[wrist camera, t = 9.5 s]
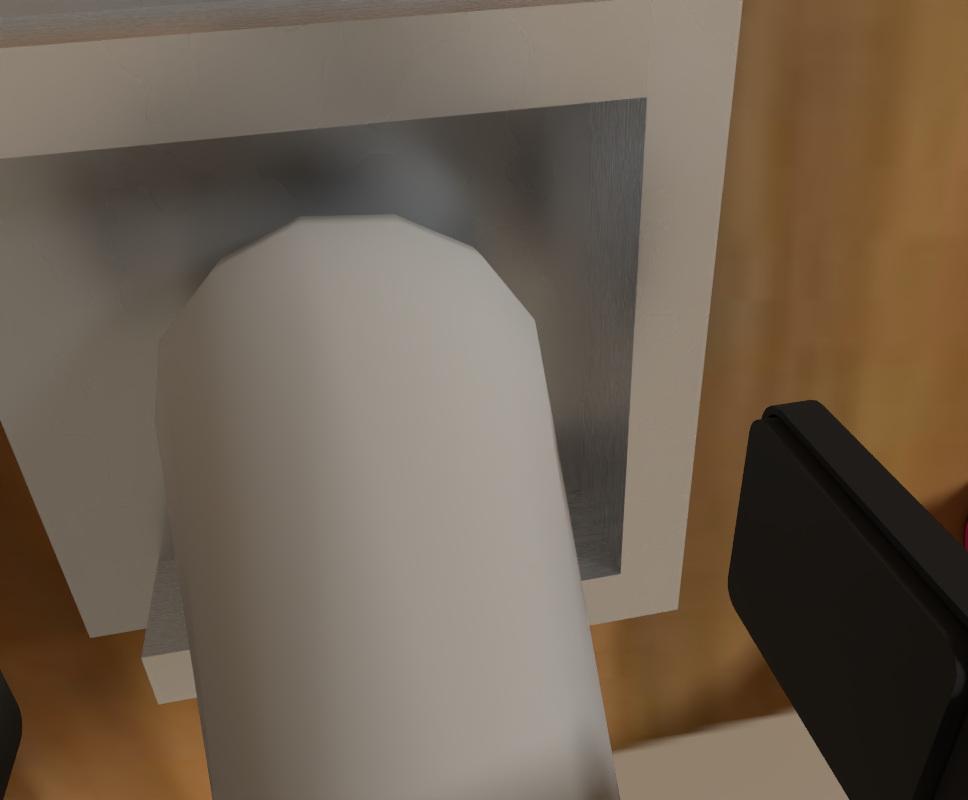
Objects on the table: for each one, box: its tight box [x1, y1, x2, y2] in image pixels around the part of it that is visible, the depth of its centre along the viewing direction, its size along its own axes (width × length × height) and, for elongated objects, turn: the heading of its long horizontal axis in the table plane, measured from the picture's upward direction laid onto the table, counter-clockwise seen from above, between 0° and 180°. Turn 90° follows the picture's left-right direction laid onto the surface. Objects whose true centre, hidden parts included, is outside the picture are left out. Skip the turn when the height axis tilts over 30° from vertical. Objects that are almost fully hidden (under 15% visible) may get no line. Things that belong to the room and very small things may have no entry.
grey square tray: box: [0, 0, 743, 704], centre depth 15 cm, size 12×13×6 cm
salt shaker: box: [154, 214, 620, 800], centre depth 10 cm, size 6×6×13 cm
